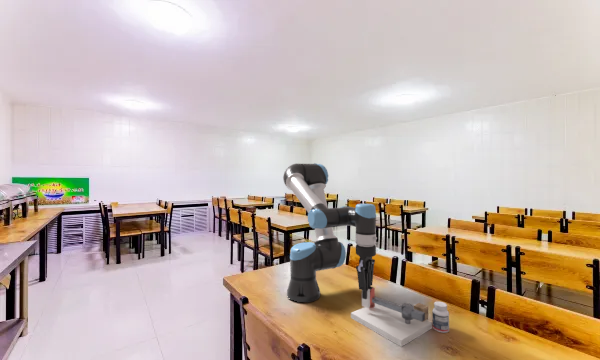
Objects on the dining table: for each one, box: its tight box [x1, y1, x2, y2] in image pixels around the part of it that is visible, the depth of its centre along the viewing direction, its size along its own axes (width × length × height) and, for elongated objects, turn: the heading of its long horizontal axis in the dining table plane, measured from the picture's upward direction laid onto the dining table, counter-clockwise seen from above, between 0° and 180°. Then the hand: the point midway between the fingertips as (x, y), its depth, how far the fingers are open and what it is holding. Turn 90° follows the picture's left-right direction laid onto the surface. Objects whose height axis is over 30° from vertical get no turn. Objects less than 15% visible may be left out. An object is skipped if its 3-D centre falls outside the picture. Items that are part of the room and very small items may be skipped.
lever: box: [369, 286, 425, 322], centre depth 100 cm, size 22×4×7 cm, turn 43°
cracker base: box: [350, 303, 433, 347], centre depth 100 cm, size 22×18×4 cm
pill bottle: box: [431, 301, 450, 334], centre depth 96 cm, size 5×5×9 cm
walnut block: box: [413, 302, 429, 321], centre depth 99 cm, size 4×4×4 cm
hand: (365, 306), depth 104 cm, fingers closed
